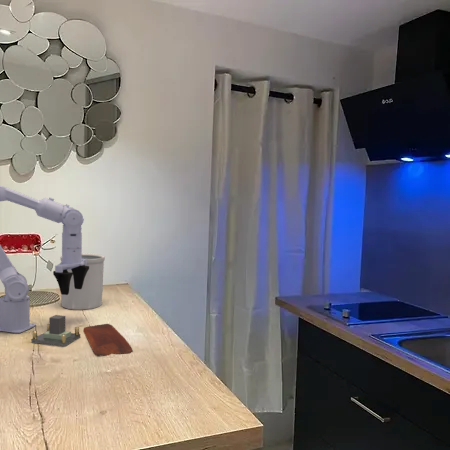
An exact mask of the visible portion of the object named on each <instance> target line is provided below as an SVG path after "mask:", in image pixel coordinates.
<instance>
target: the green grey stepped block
mask: <svg viewBox="0 0 450 450" xmlns="http://www.w3.org/2000/svg"><path fill="white" fill-rule="evenodd" d="M48 321H49V323H48V324H49V331H47V330H46V331H45V332H42V334H43V338H49V339H57V340H61V335H62V334H66V338H68V337H70V336H71V333H72V331H69V330H66V315H62V314H61V315H59V314H55V315H53V316H50V317H49V320H48Z"/></svg>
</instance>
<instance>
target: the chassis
mask: <svg viewBox="0 0 450 450" xmlns="http://www.w3.org/2000/svg"><path fill="white" fill-rule="evenodd" d="M46 325H47V326H46V327H47V328H46V332H47V331H49V323H47V324H46ZM80 338H81V333H80V326H75V327H74V332H71V336H70V337H68V338H66V334H62V335H61V340H57V339H49V338H43V333H40V334H39V335H38V330H33V331H32V338H31V339H30V340H31V342H30V343H32V344H36V345H37V344H39V345H46V346H52V347H54V346H55V347H61V348H66V347H67V346H68V345H70V344H71V343H74V342H75V341H77V340H79V339H80Z"/></svg>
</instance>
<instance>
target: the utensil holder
mask: <svg viewBox="0 0 450 450" xmlns="http://www.w3.org/2000/svg"><path fill="white" fill-rule="evenodd" d="M105 257H106V256H104V255H102V254H98V253H92V252H91V253H89V252H82V258H84V259H87V265H85V266H89V270H88V272H87V274H86V276H85V279H84V282H83V286H82V289H75V287H74V278H73V275H72V277H71V281H70V287H69V294H68V295H63V294H61V293H60V294H61V307H63V308H65V309H69V310H80V311H81V310H91V309H96V308H99V307H100V306H101V305H102V303H103V290H104V289H103V287H104V268H105V267H104V265H105V264H104V263H105V262H104V261H105ZM59 260H60V263H61V262H62V255H60V259H59ZM67 271H68V272H71V273H72V270H71V269H69V270H67Z"/></svg>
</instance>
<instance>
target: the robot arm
mask: <svg viewBox="0 0 450 450" xmlns="http://www.w3.org/2000/svg"><path fill="white" fill-rule="evenodd" d="M6 201H7V202H11V203H14V204H17V205H19V206H22V207H25V208H28V209H31V210H34V211H35V213H36V216H37V217H41V218H43V219H46V220H47V221H51V222H53V223H58V224H60V223H61V224H62V232H61V256H62V262H61V261H60V263H58V264H57V265H55V266H54V267H55V268H54V269H55V270H53V272H52V273H53V276H54V278H55V279H56V281H57V284H58V287H59V291H60V294H63V295H68V294H69V287H70V281H71V277H72V275H73V278H74V287H75V289H82V286H83V282H84V279H85V276H86V274H87V272H88V270H89V266H85V265H87V259H84V258H82V253H83V252H82V251H83V249H82V248H83V247H82V245H83V240H82V239H83V235H82V234H83V233H82V225H83V223H84V221H85V218H84V216H83V214H82V213H81V212H80V210H78V209H76V208H74V207H71V206H70V205H69V204H67V203H66V204H63V203H60V202H57V201H56V200H55V199H54V198H52V197H48V198H47V197H43V198H41V199H37V198H35V197H32V196H29V195H27V194H24V193H22V192H19V191H17V190H16V189H15V190H14V189H12V188H9V187H7V186H4V185H0V202H6ZM69 269H71V270H72V273H71V272H68V271H67V270H69ZM0 281H1V283H2V284H3V287H4V294H5V295H4V296H2V297H0V332H6V333H7V332H8V333H16V334H21V333H23V332H26V331H27V330H30V329H33V328H34V327H36V326H37V323H31V320H30V319H31V318H30V314H31V313H30V312H31V311H30V309H31V308H30V306H31V305H30V301H31V300H30V297H31V296H30V295H28V294H29V290H30V287H29V285H28V280H27V278H26V277H25V276H24V274H21V273H19V271H18V270H17V268H16V266H14V265H13V264H12V261H11V260H10V257H9V256H8V255H7V253H6V252H5V250H4V249H3V246H2V245H1V244H0Z"/></svg>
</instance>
